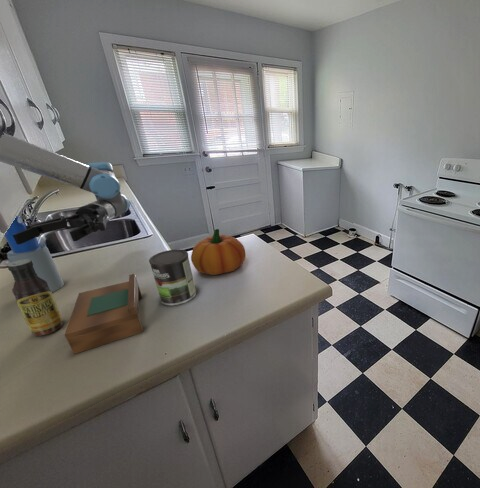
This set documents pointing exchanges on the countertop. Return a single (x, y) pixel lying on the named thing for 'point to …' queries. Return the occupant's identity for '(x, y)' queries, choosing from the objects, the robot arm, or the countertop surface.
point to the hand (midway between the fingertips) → (44, 238)
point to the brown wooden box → (104, 316)
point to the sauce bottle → (34, 299)
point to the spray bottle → (33, 255)
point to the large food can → (173, 276)
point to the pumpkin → (218, 254)
